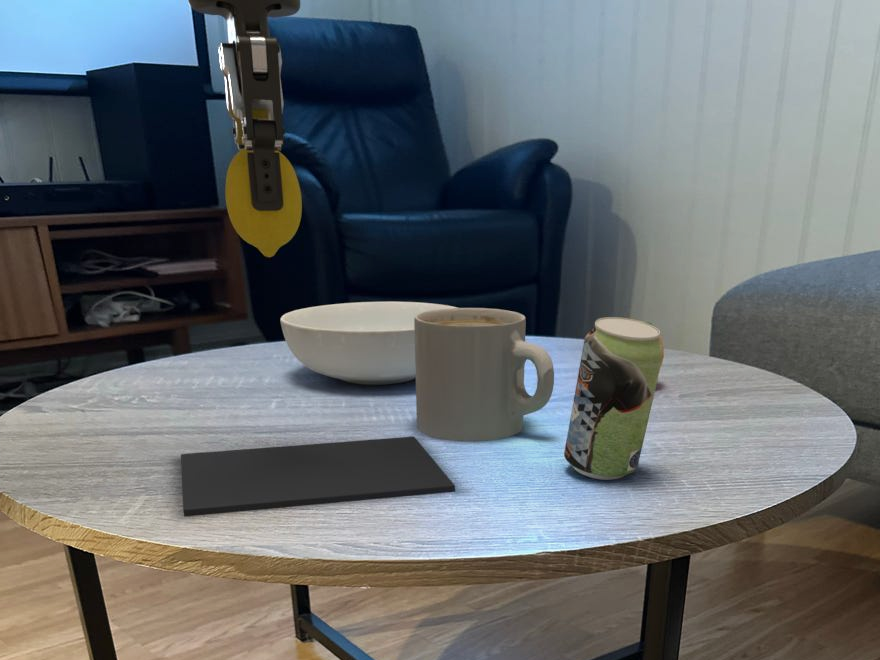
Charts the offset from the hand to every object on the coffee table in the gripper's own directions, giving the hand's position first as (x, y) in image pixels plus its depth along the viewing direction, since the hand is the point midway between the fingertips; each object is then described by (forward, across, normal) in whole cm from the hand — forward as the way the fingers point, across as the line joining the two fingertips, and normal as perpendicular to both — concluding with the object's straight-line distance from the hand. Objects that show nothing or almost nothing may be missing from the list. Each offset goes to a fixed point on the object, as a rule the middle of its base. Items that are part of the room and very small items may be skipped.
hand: (263, 206), depth 70 cm
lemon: (+4, 0, 0) cm, 4 cm away
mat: (+19, +5, +1) cm, 20 cm away
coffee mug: (+20, -4, +18) cm, 27 cm away
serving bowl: (+20, -29, +14) cm, 38 cm away
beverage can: (+20, +11, +24) cm, 33 cm away
